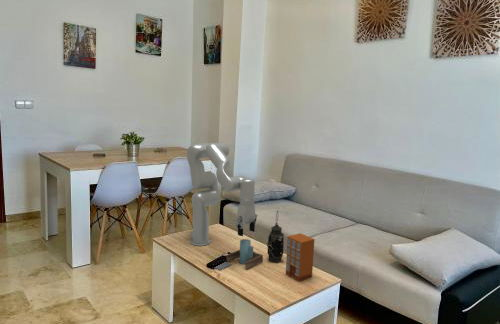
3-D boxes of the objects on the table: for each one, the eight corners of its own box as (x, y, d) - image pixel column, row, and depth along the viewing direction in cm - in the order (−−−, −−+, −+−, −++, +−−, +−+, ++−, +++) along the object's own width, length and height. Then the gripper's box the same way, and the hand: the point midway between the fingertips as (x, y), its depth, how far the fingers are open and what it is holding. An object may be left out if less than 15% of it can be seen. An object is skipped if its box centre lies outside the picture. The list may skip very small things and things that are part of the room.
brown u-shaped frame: (226, 262, 206) (226, 255, 205) (242, 254, 216) (243, 248, 216) (247, 270, 197) (247, 262, 196) (263, 262, 208) (263, 255, 207)
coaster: (207, 265, 201) (207, 264, 201) (219, 260, 208) (219, 259, 208) (220, 270, 195) (220, 269, 195) (231, 265, 202) (231, 264, 202)
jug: (237, 262, 206) (238, 241, 204) (243, 259, 210) (244, 238, 208) (248, 266, 201) (249, 244, 199) (255, 263, 205) (256, 242, 204)
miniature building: (284, 274, 194) (286, 236, 191) (297, 270, 199) (300, 233, 196) (298, 282, 186) (300, 242, 183) (311, 277, 192) (314, 239, 188)
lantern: (281, 264, 206) (284, 213, 201) (265, 262, 207) (267, 212, 203) (283, 257, 215) (286, 209, 211) (267, 255, 217) (270, 207, 212)
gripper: (251, 197, 210) (250, 228, 213) (230, 203, 197) (230, 235, 199) (262, 200, 205) (261, 231, 208) (241, 206, 192) (241, 239, 195)
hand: (246, 233), depth 204 cm, fingers open, 9 cm apart
